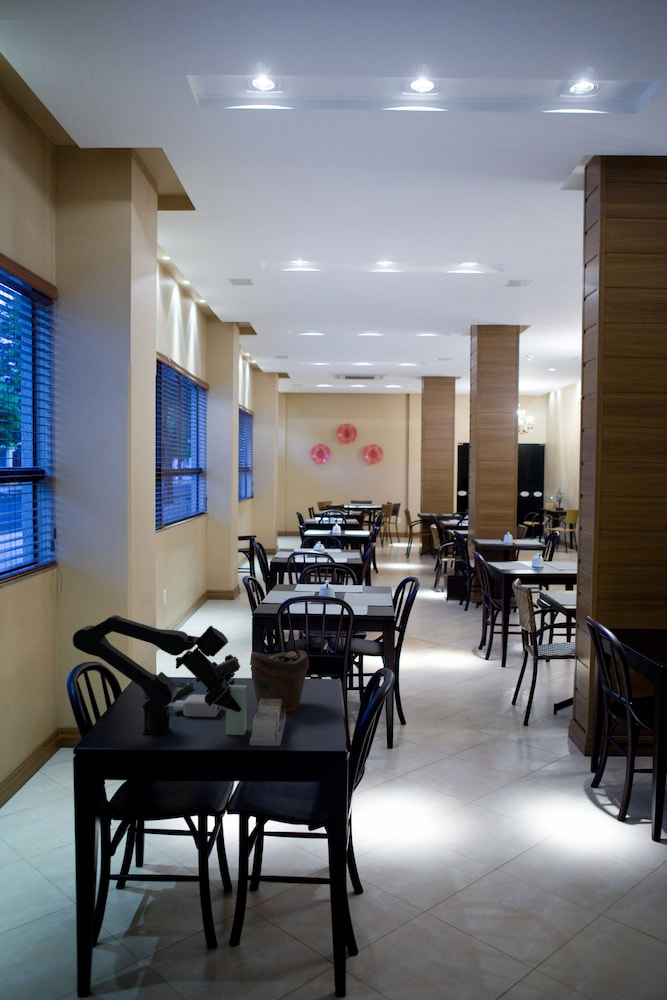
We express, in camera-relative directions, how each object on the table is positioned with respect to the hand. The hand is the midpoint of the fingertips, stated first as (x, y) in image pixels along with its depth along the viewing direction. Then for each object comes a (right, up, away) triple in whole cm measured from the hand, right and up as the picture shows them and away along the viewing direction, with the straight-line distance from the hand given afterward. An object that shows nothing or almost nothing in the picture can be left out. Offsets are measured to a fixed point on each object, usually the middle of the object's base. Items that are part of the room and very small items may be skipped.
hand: (241, 708), depth 209 cm
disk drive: (-28, -6, +38) cm, 48 cm away
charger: (-17, -7, +18) cm, 25 cm away
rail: (+8, -7, 0) cm, 10 cm away
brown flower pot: (+9, -7, +25) cm, 27 cm away
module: (-1, -7, 0) cm, 7 cm away
